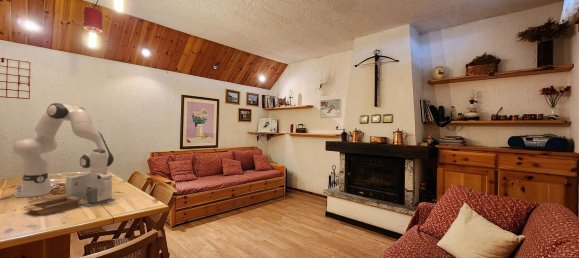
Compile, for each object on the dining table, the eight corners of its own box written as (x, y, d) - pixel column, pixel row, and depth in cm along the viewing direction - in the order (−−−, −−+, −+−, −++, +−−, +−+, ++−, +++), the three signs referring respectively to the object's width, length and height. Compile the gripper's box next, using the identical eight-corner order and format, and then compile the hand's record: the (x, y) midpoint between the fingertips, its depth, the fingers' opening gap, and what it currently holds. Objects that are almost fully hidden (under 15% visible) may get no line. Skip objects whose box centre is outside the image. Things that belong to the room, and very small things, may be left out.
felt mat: (79, 204, 155) (79, 204, 155) (106, 198, 169) (106, 197, 169) (88, 207, 151) (88, 206, 151) (115, 200, 166) (115, 199, 166)
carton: (20, 212, 140) (21, 202, 140) (69, 200, 161) (69, 192, 161) (38, 218, 133) (39, 208, 133) (87, 205, 154) (87, 197, 154)
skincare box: (71, 201, 160) (71, 177, 159) (64, 201, 161) (65, 176, 160) (102, 193, 180) (102, 171, 180) (95, 192, 181) (96, 171, 181)
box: (86, 201, 157) (87, 189, 156) (106, 196, 168) (107, 185, 168) (91, 203, 155) (92, 190, 155) (111, 198, 166) (112, 186, 166)
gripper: (83, 173, 161) (82, 194, 161) (103, 177, 153) (102, 199, 154) (94, 171, 167) (93, 192, 167) (114, 175, 159) (113, 196, 160)
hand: (98, 195), depth 160 cm, fingers closed on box, 5 cm apart
